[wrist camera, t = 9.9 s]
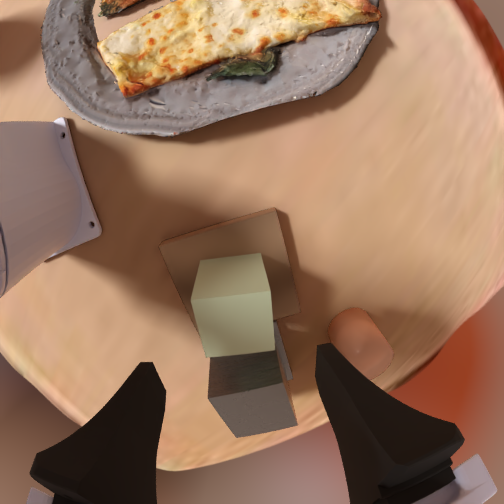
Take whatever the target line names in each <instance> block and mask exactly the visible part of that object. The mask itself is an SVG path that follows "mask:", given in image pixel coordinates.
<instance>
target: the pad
mask: <svg viewBox="0 0 504 504" xmlns="http://www.w3.org/2000/svg"><path fill="white" fill-rule="evenodd" d="M159 249H160V251H161V254H162V256H163V259H164V261H165V263H166V266H167V268H168V270H169V272H170V275H171V277H172V279H173V282H174V284H175V286H176V288H177V290H178V293H179V295H180V297H181V299H182V301H183V303H184V305H185V308H186V310H187V312H188V314H189V316H190V318H191V320H192V322H193V324H194V326H195V328H196V330H197V332H198V334H199V331H198V327H197V323H196V319H195V315H194V312H193V308H192V304H191V296H192V292H193V288H194V284H195V280H196V276H197V272H198V268H199V264H200V260H206V259H215V258H223V257H231V256H239V255H247V254H256V253H261V256H262V260H263V264H264V268H265V271H266V275H267V279H268V283H269V287H270V291H271V302H272V315H273V320H276V319H280V318H283V317H286V316H290V315H293V314H297V313H300V312H301V310H300V305H299V301H298V297H297V292H296V288H295V284H294V280H293V276H292V271H291V267H290V263H289V259H288V255H287V251H286V247H285V243H284V239H283V235H282V231H281V227H280V224H279V220H278V216H277V212H276V210H275V208H270V209H267V210H263V211H260V212H256V213H253V214H249V215H246V216H243V217H239V218H236V219H232V220H229V221H226V222H222V223H219V224H216V225H213V226H209V227H206V228H203V229H200V230H196V231H193V232H190V233H187V234H184V235H181V236H177V237H174V238H171V239H168V240H165V241H162V242H161V244H160V245H159ZM199 336H200V334H199Z"/></svg>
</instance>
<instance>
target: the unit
mask: <svg viewBox="0 0 504 504" xmlns="http://www.w3.org/2000/svg"><path fill="white" fill-rule="evenodd" d="M273 327H274V340H275V350H272V351H265V352H257V353H248V354H239V355H230V356H219V357H210V370H209V385H208V399H209V401H210V402H211V404H212V405H213V407H214V408H215V410H216V411H217V412H218V414H219V415H220V417H221V418H222V419H223V421H224V422H225V423H226V425H227V426H228V427H229V429H230V430H231V431H232V433H233V434H234V435H235V437H236V438H238V437H245V436H251V435H256V434H261V433H267V432H271V431H276V430H280V429H285V428H289V427H293V426H297V425H298V423H297V419H296V415H295V410H294V406H293V401H292V397H291V393H290V388H289V384H288V380H291V379H293V376H292V372H291V369H290V366H289V362H288V359H287V355H286V352H285V349H284V345H283V342H282V339H281V335H280V332H279V328H278V325H277V322H276V320H273Z"/></svg>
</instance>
